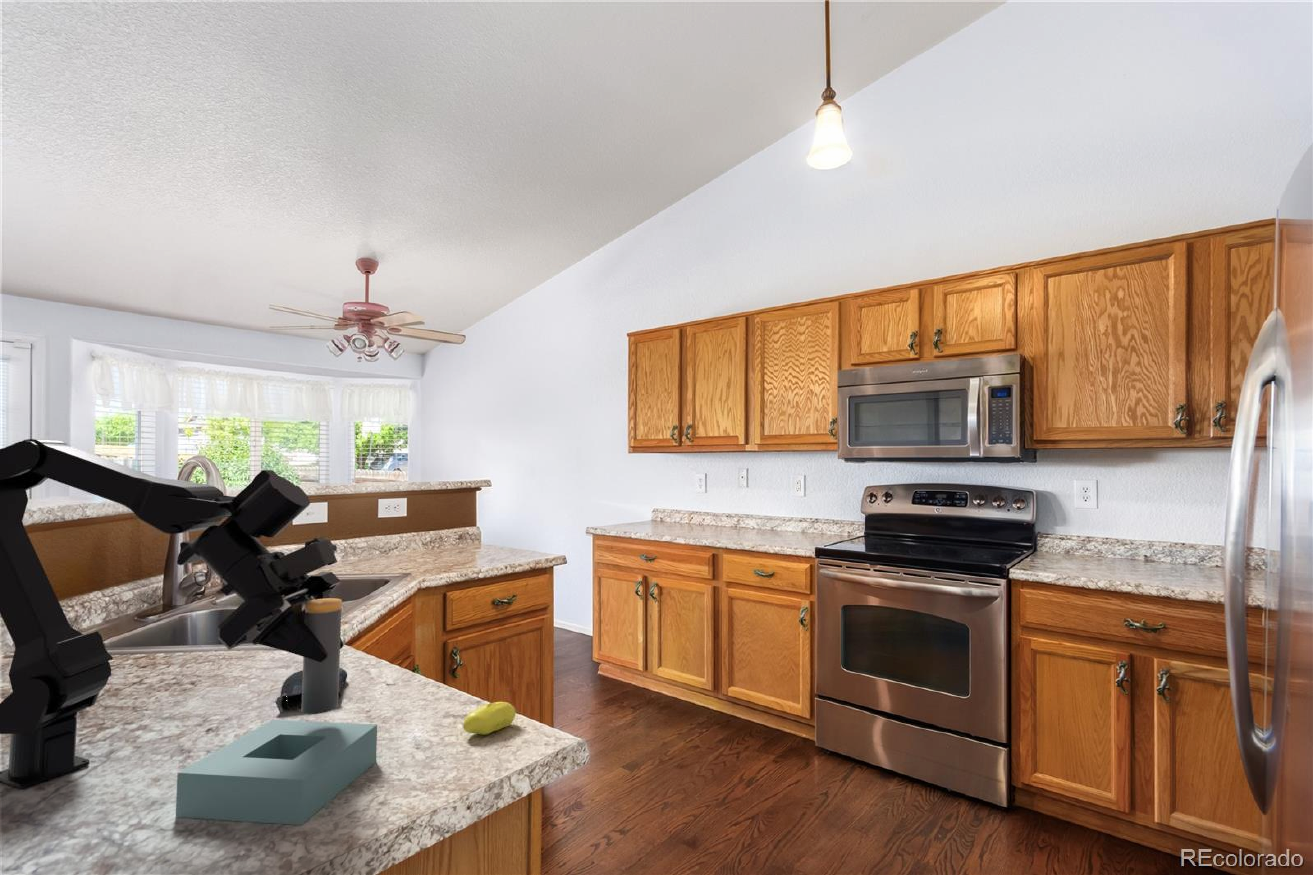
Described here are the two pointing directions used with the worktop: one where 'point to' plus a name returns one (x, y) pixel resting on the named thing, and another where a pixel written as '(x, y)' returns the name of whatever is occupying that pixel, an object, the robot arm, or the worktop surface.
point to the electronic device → (300, 688)
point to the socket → (277, 772)
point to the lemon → (489, 718)
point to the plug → (324, 675)
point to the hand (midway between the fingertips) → (333, 653)
